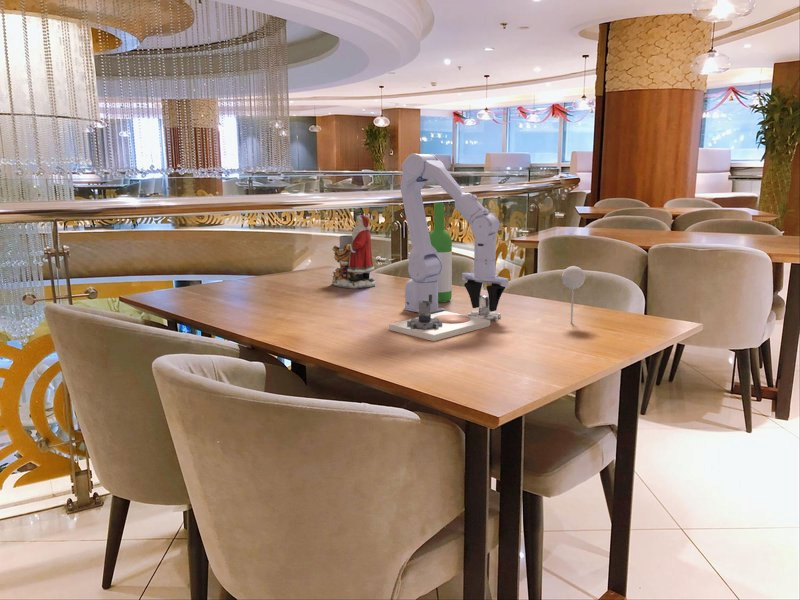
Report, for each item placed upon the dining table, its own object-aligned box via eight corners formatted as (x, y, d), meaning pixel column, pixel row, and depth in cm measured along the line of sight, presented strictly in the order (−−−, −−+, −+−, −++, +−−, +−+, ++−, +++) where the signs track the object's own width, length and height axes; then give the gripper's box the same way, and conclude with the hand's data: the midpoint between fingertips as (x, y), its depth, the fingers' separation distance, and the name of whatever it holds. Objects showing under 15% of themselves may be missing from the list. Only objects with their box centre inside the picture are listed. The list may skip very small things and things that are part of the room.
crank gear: (399, 325, 163) (399, 293, 161) (424, 320, 168) (424, 289, 167) (424, 332, 156) (424, 298, 155) (449, 325, 162) (449, 293, 161)
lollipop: (566, 326, 166) (568, 268, 163) (555, 321, 172) (557, 265, 169) (587, 324, 168) (590, 267, 165) (576, 319, 174) (578, 264, 171)
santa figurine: (325, 283, 233) (323, 213, 228) (360, 280, 240) (360, 212, 234) (343, 291, 219) (342, 217, 213) (381, 287, 225) (380, 215, 220)
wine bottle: (451, 298, 204) (452, 201, 198) (451, 303, 196) (451, 203, 190) (427, 298, 204) (426, 202, 198) (425, 303, 197) (425, 203, 191)
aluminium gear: (461, 318, 177) (461, 296, 176) (482, 312, 183) (482, 292, 182) (486, 323, 171) (486, 300, 169) (507, 317, 176) (507, 296, 175)
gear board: (388, 329, 165) (388, 323, 165) (444, 316, 179) (444, 310, 179) (433, 341, 154) (433, 334, 153) (490, 325, 168) (490, 319, 167)
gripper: (454, 258, 176) (454, 307, 179) (497, 264, 166) (496, 315, 168) (471, 256, 181) (471, 303, 183) (513, 261, 170) (512, 311, 173)
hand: (484, 309), depth 176 cm, fingers open, 5 cm apart
